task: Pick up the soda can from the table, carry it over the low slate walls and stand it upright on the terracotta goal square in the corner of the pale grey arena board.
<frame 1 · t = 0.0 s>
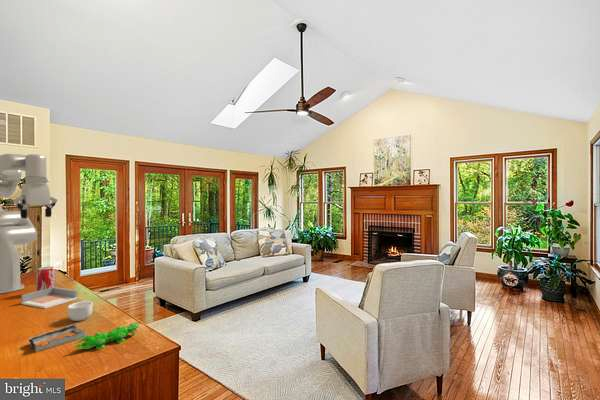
hand: (36, 217, 144), 37 cm above the table, tool pointing down, fingers open, 9 cm apart
soda can: (46, 293, 148), on the table
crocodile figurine: (109, 343, 97), on the table
arena: (50, 301, 136), on the table
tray: (56, 342, 98), on the table
teacup: (79, 318, 116), on the table
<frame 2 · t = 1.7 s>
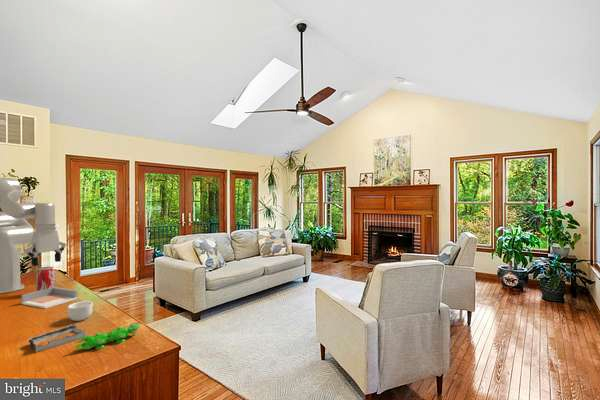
hand: (46, 263, 148), 14 cm above the table, tool pointing down, fingers open, 9 cm apart
nothing on the table moved.
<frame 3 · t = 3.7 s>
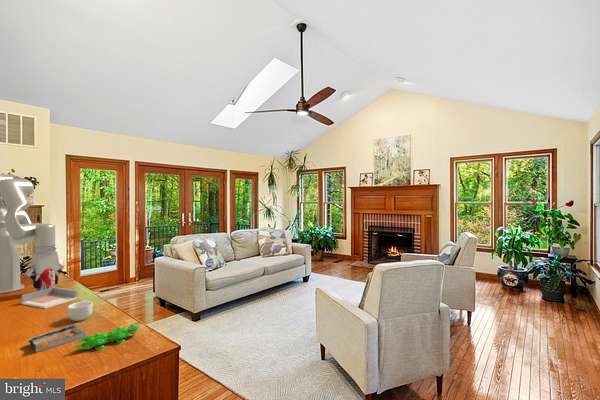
hand: (46, 285, 148), 3 cm above the table, tool pointing down, fingers closed on soda can, 7 cm apart
soda can: (46, 293, 148), on the table, touching gripper
everything else where it was.
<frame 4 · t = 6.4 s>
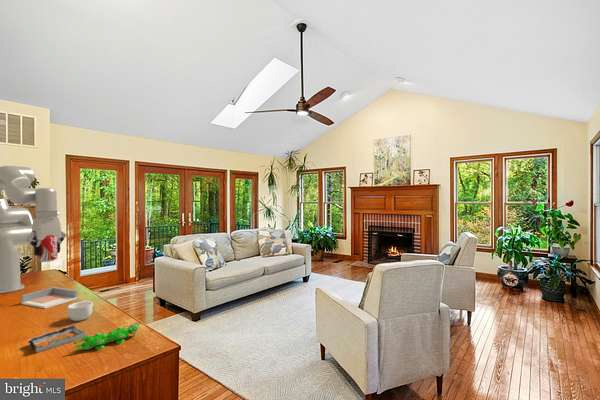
hand: (47, 253, 140), 20 cm above the table, tool pointing down, fingers closed on soda can, 7 cm apart
soda can: (47, 261, 140), point 17 cm above the table, touching gripper
everything else where it was.
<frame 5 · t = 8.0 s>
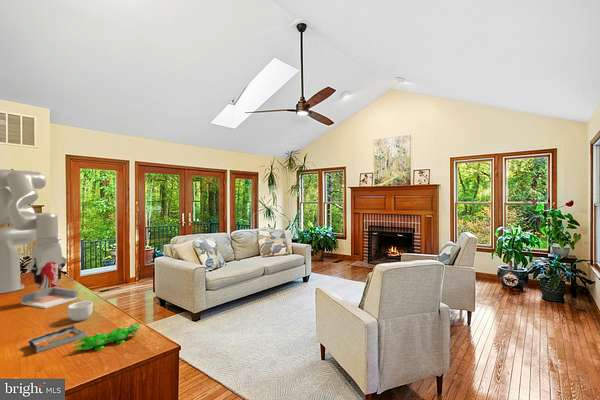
hand: (48, 280, 136), 9 cm above the table, tool pointing down, fingers closed on soda can, 7 cm apart
soda can: (48, 288, 136), point 5 cm above the table, touching gripper
everything else where it was.
when the fingers open (5 cm above the table, at t = 9.2 s): soda can drops 1 cm, resting on arena.
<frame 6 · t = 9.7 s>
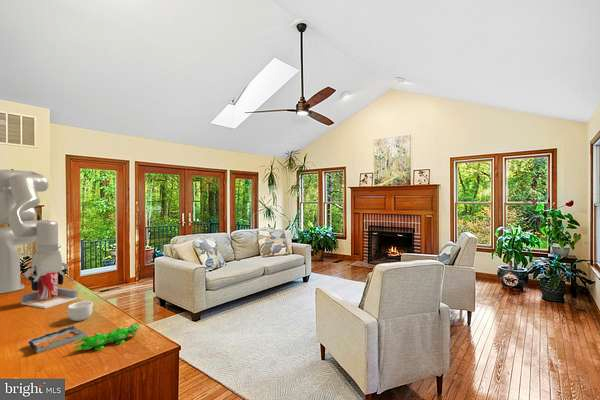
hand: (48, 287, 137), 6 cm above the table, tool pointing down, fingers open, 9 cm apart
soda can: (48, 298, 137), point 1 cm above the table, touching arena
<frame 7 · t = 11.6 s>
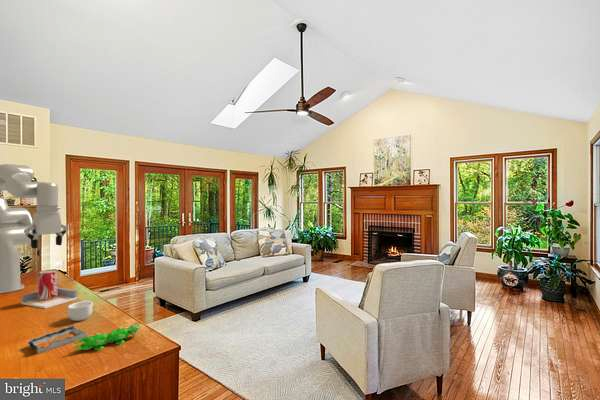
hand: (47, 246, 141), 23 cm above the table, tool pointing down, fingers open, 9 cm apart
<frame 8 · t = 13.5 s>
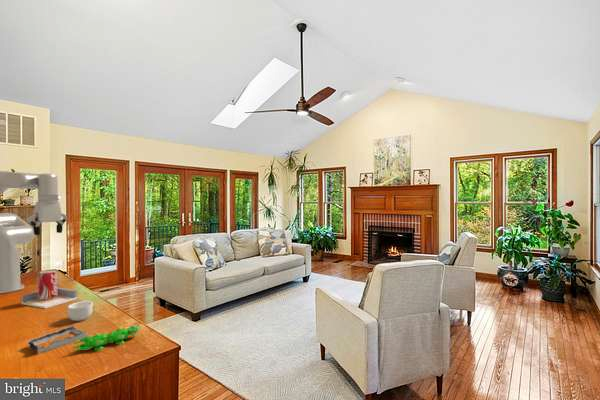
hand: (48, 233, 150), 28 cm above the table, tool pointing down, fingers open, 9 cm apart
at the end: soda can 0.2 cm from the target spot on the arena, point 0.8 cm above the arena's base; soda can tilted 0°; the gripper is holding nothing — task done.
